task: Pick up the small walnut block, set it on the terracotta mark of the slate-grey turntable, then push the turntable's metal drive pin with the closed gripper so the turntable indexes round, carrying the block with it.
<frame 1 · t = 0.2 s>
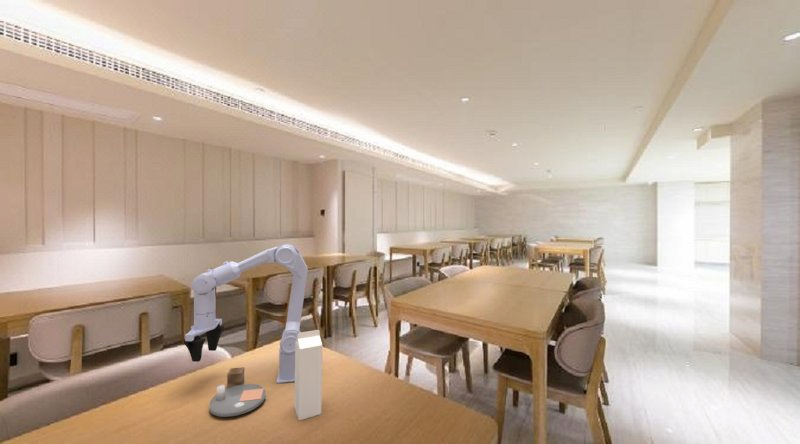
hand: (204, 355, 97), 10 cm above the table, tool pointing down, fingers open, 7 cm apart
turntable: (238, 392, 88), point 3 cm above the table, hinge at 0.0°
milk: (307, 412, 85), on the table
walnut block: (235, 386, 97), on the table
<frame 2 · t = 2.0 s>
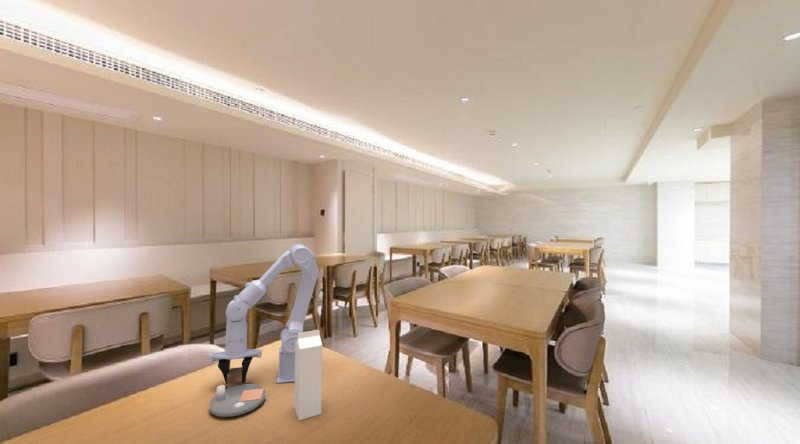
hand: (235, 381, 97), 1 cm above the table, tool pointing down, fingers closed on walnut block, 4 cm apart
walnut block: (235, 386, 97), on the table, touching gripper
everything else where it was.
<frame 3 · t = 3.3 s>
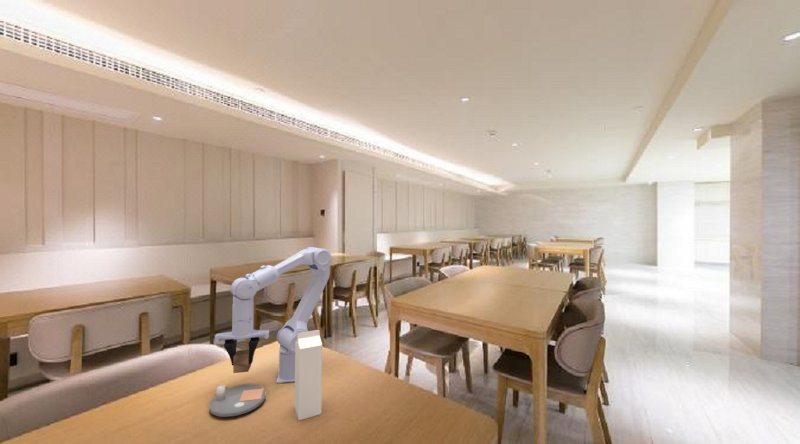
hand: (242, 363, 94), 9 cm above the table, tool pointing down, fingers closed on walnut block, 4 cm apart
walnut block: (242, 369, 94), point 7 cm above the table, touching gripper
everything else where it was.
when the fingers open (5 cm above the table, at t = 4.9 s): walnut block stays where it is, resting on turntable.
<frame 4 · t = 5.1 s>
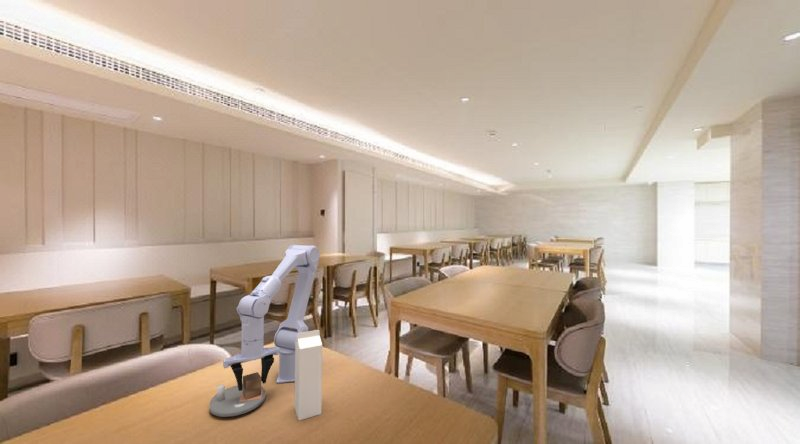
hand: (252, 385, 89), 5 cm above the table, tool pointing down, fingers open, 6 cm apart
turntable: (238, 392, 88), point 3 cm above the table, hinge at 0.0°, touching walnut block
walnut block: (251, 394, 89), point 2 cm above the table, touching turntable
everything else where it was.
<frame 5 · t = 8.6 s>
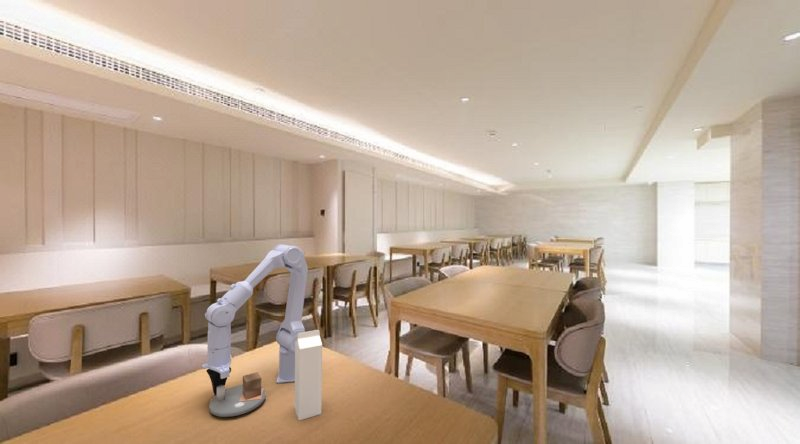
hand: (218, 393, 88), 3 cm above the table, tool pointing down, fingers closed, pressing on turntable
turntable: (238, 392, 88), point 3 cm above the table, hinge at 0.0°, touching gripper, walnut block
everything else where it was.
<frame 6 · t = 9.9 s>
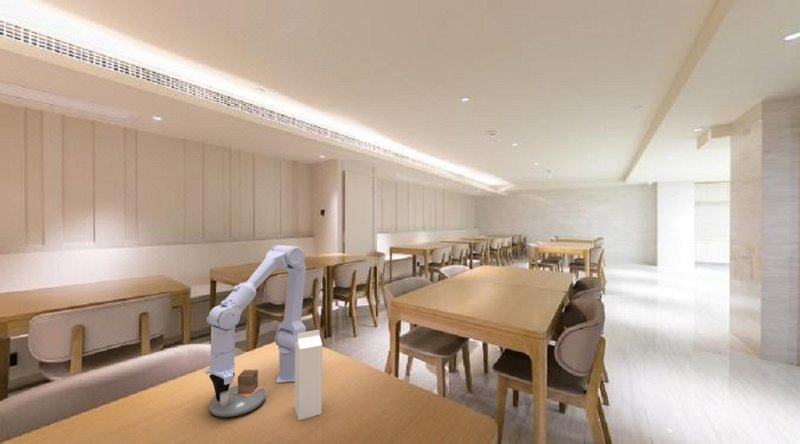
hand: (221, 399, 85), 3 cm above the table, tool pointing down, fingers closed
turntable: (238, 392, 88), point 3 cm above the table, hinge at 53.4°, touching gripper, walnut block
walnut block: (247, 389, 91), point 2 cm above the table, touching turntable
everything else where it was.
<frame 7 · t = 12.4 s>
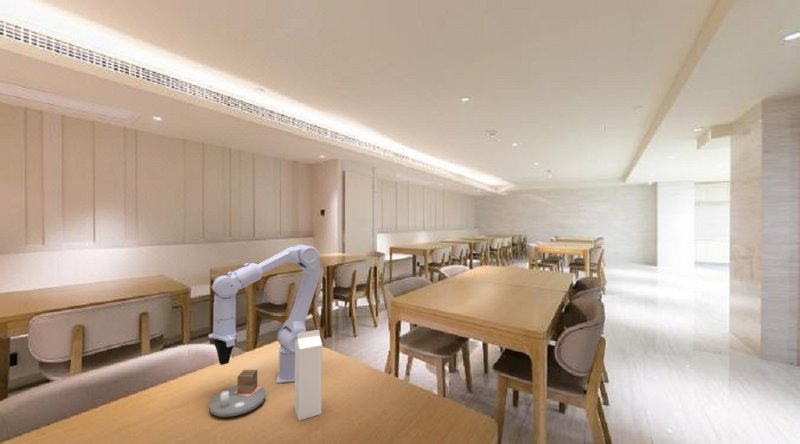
hand: (224, 363, 91), 10 cm above the table, tool pointing down, fingers closed
turntable: (238, 392, 88), point 3 cm above the table, hinge at 55.1°, touching walnut block
everything else where it was.
at the end: turntable at +55° (first picture: +0°); walnut block touching turntable; walnut block tilted 0° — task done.
